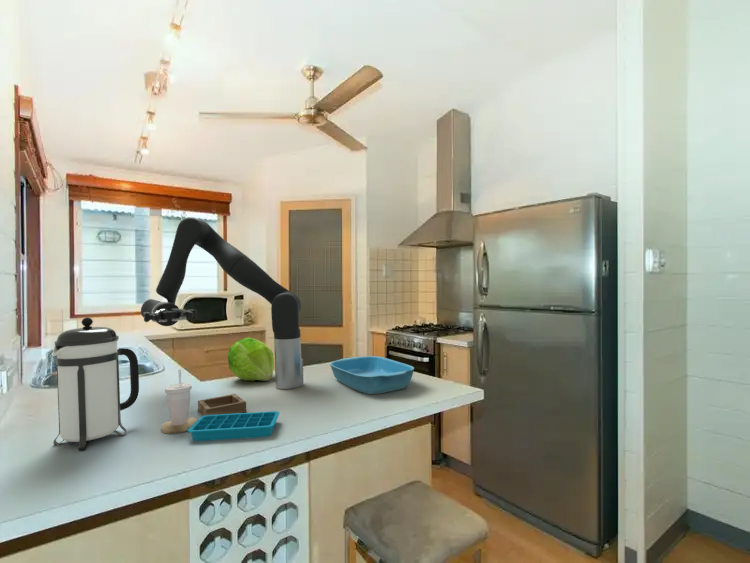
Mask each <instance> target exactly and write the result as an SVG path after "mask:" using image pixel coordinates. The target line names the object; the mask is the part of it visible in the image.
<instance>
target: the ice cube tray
mask: <svg viewBox="0 0 750 563" xmlns="http://www.w3.org/2000/svg"><path fill="white" fill-rule="evenodd" d="M279 416H280V412H279V411H276V410H275V411H274V410H273V411H271V410H270V411H255V412H245V413H235V414H218V415H205V416H202V415H201V416H200V417H199V418H197V419H198V420H197V421H196V422H195V423H194V424H193V425H192V426H191V427H190V428H189V429H188V431H187V432H188V433H189V434H191V436H192V437H191V438H192V441H193V442H202V441H203V442H204V441H205V442H206V441H221V440H222V441H223V440H234V439H235V440H236V439H250V438H252V439H253V438H254V439H255V438H266V437H271V435H272V434H273V431H274V428H275V426H276V423H277V420H278V417H279Z"/></svg>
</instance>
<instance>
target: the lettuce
mask: <svg viewBox="0 0 750 563" xmlns="http://www.w3.org/2000/svg"><path fill="white" fill-rule="evenodd" d="M227 361H228V369H229V370H230V372H232V374H233V375H234V376H235V377H237V378H238V379H240V380H244V381H247V382H253V381H254V382H255V380H257V381H263V382H268V381H270V380H271V379H272V378H273V376H274V370H275V357H274V352H273V351H272V349H271V348H270V347H269V346H268V345H267V344H266V343H265V342H263V341H260V340H258V339H256V338H254V337H246V338H242V339H239V340H237V341H236V342H235V343H233V344H232V345H231V346H230V348H229V350H228V352H227Z"/></svg>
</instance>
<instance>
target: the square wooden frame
mask: <svg viewBox="0 0 750 563" xmlns="http://www.w3.org/2000/svg"><path fill="white" fill-rule="evenodd" d="M197 411H198V413H200V415H201V417H202V416H205V415H218V414H235V413H242V412H245V413H248V412H247V401H246V400H245V399H243V398H241V397H240V396H239V395H238V394H236V393H232V394H226V395H221V396H215V397H209V398H205V399H200V400H197Z"/></svg>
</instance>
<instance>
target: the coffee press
mask: <svg viewBox="0 0 750 563" xmlns="http://www.w3.org/2000/svg"><path fill="white" fill-rule="evenodd" d="M93 322H94V321H93V319H92V318H91V317H83V319H82V320H81V321H80V323H81V325H82V326H83V327H80V328H73V329H68V330H65V331H63V332H61V333H60V334H59V335H58V336H57V338H56V340H55V341H54V347H53V349H52V352H51V356H52V357H55V356H56V357H55V363H56V364H55V365H56V367H57V368H56V379H57V381H56V382H57V407H58V408H57V411H58V433H57V434H58V435H57V436H56V437H55V438H54V440H53V445H54V446H59V445H61V444H63V442H64V441H65V442H70V443H72V442H74V443H75V442H76V443H78V446H77V448H78V451H79V452H80V451H85V450H87V448H88V444H89V442H90V441H92V440H96V439H100V438H104V437H105V436H106V437H107V436H108V435H110V434H112V433H113V434H117V435H118V436H120V437H123V436H125V435H126V434H127V430H128V429H127V428H125V427H124V426H123V424H122V420H121V418H122V417H121V414H122V413H121V411H124V410H126V409H129V408H131V406H133V405H134V404H135V402H136V400H138V396H139V392H140V378H139V374H140V373H139V361H138V357H137V355H136V353H135V352H134V350H131V349H130V348H125V347H123V348H118V341H119V335H117V333H116V331H115V330H114V329H113V328H110V327H105V326H92V324H93ZM119 356H125V357H126V358H128V361H129V373H130V374H129V376H130V378H129V379H130V381H129V382H130V394H129V396H128V398H127V399H126V400H125V401H123V402H121V395H120V366H119V365H120V364H119ZM119 427H120V428H121V429H122V431H124V432H123V433H122V432H120V431H118V429H119ZM59 437H60V438H62V441H60V442H58V441H57V439H58V438H59Z"/></svg>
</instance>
